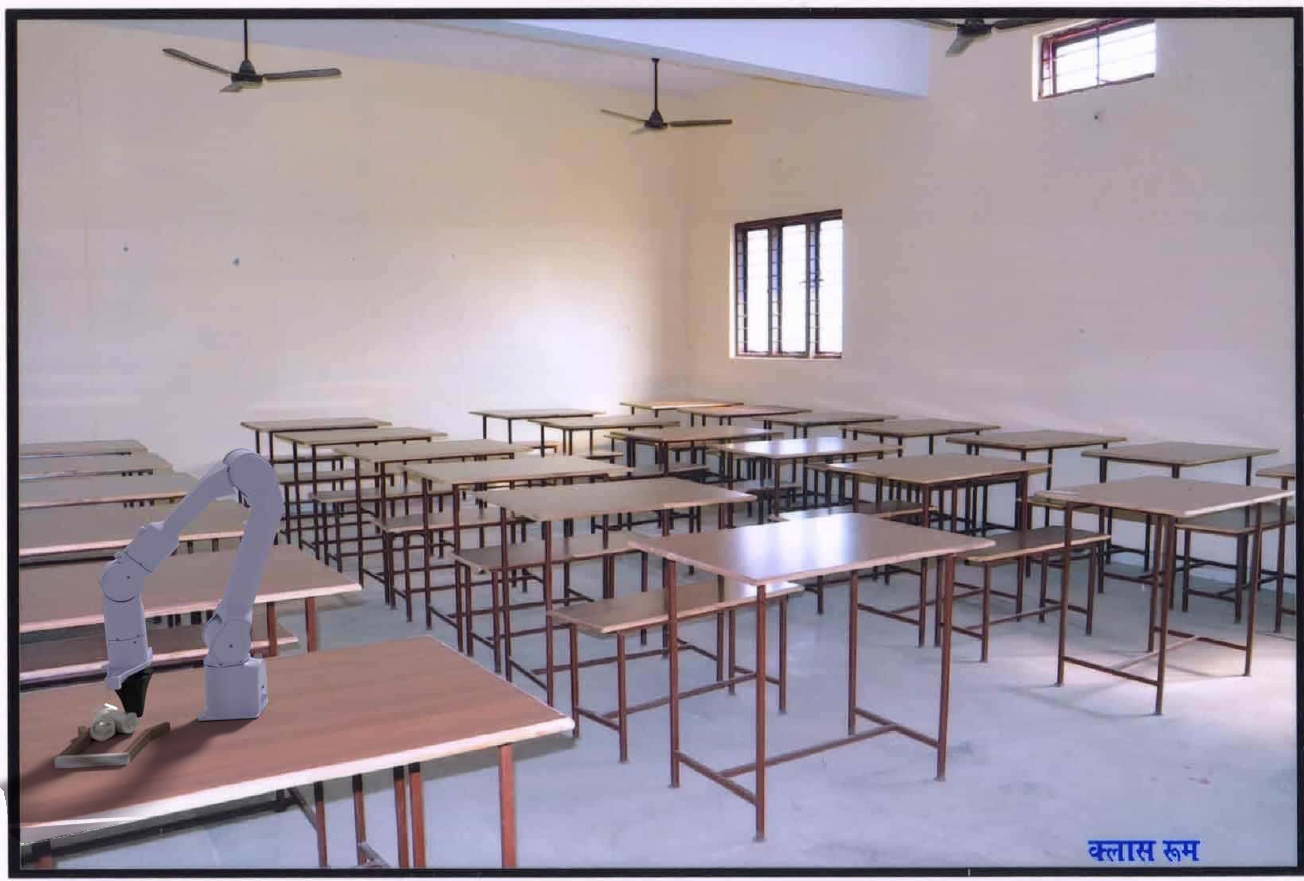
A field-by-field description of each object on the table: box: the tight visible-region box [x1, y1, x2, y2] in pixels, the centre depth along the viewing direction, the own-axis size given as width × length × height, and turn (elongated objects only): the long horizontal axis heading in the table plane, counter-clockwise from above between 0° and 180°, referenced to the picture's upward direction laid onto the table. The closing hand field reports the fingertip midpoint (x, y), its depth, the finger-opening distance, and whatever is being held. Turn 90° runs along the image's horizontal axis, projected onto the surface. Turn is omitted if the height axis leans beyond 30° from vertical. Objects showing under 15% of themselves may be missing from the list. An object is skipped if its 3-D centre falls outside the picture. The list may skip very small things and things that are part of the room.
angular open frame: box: [53, 721, 171, 769], centre depth 156 cm, size 14×13×2 cm
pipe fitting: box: [89, 702, 140, 742], centre depth 163 cm, size 8×4×7 cm
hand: (134, 717), depth 163 cm, fingers closed, pressing on pipe fitting
